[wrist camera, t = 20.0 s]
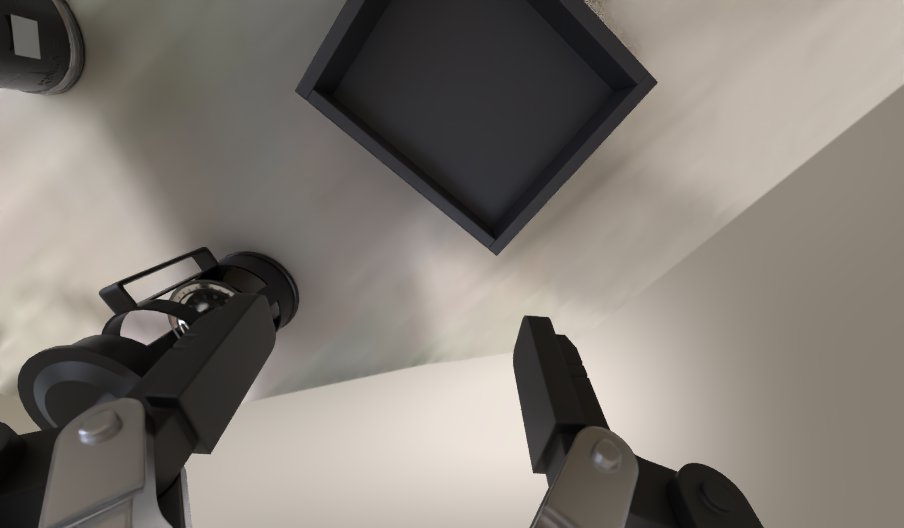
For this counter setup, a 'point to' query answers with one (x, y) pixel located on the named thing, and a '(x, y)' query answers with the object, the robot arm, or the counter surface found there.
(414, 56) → the dark square tray
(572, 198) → the counter surface
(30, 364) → the french press
